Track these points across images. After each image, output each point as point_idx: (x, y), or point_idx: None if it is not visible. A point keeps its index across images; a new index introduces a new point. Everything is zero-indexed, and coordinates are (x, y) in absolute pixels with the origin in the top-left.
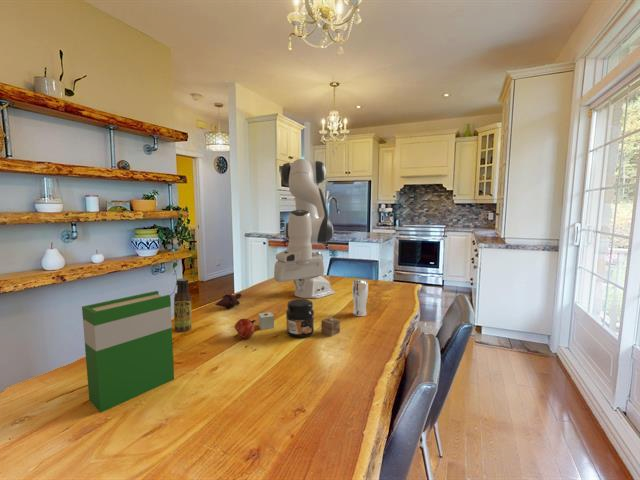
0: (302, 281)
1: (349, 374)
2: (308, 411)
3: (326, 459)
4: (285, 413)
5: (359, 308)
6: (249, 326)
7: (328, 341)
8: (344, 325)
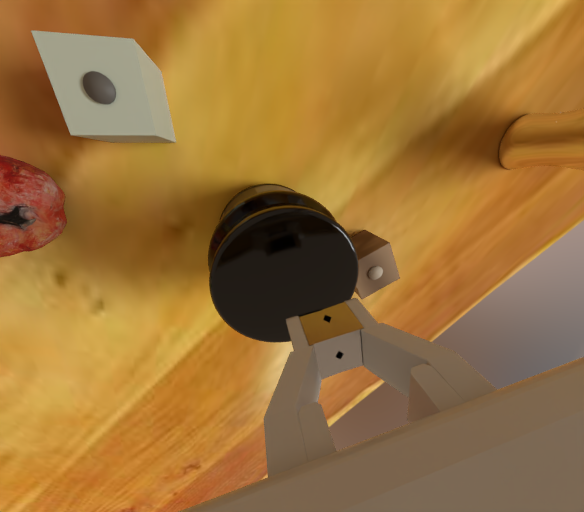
0: (401, 357)
1: None
2: (204, 468)
3: None
4: (170, 472)
5: (537, 161)
6: (13, 248)
7: None
8: (416, 219)
